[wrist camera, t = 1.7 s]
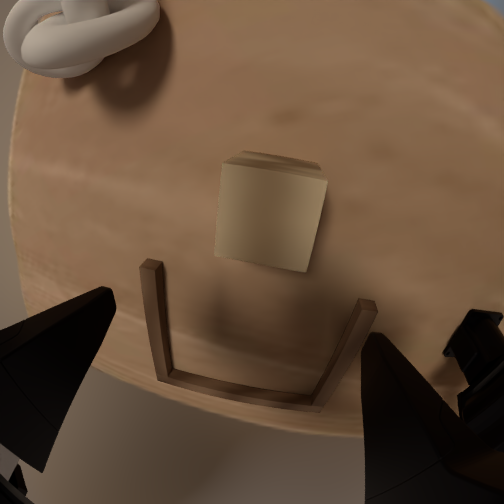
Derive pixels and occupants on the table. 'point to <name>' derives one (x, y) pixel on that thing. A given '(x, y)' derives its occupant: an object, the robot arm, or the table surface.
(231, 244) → the oak block
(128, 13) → the white decorative knot
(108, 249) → the table surface
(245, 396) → the bay
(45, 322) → the robot arm
